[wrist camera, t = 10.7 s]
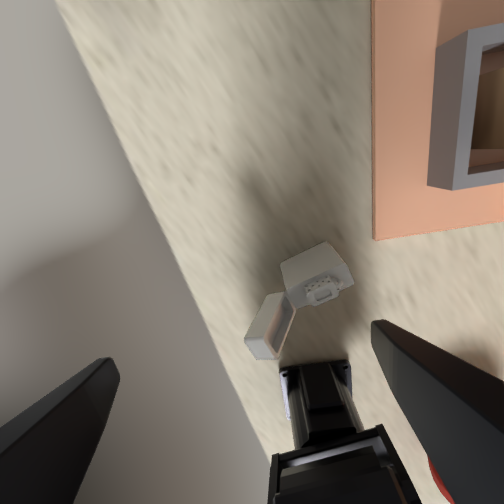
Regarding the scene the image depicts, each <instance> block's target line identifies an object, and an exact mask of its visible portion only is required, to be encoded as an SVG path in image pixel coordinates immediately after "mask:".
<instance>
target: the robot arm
mask: <svg viewBox="0 0 504 504" xmlns="http://www.w3.org/2000/svg"><path fill="white" fill-rule="evenodd" d="M371 344H372V348H373V350H374V352H375V355H376V357H377V359H378V361H379V364H380V366H381V368H382V371H383V373H384V375H385V378H386V380H387V382H388V384H389V387H390V389H391V391H392V393H393V395H394V397H395V399H396V400H397V402H398V404H399V406H400V408H401V409H402V411H403V413H404V415H405V416H406V418H407V420H408V422H409V423H410V425H411V427H412V429H413V430H414V432H415V434H416V436H417V438H418V439H419V441H420V443H421V445H422V446H423V448H424V450H425V452H426V453H427V455H428V457H429V459H430V460H431V462H432V464H433V466H434V467H435V469H436V471H437V473H438V475H439V476H440V478H441V480H442V482H443V483H444V485H445V487H446V489H447V490H448V492H449V494H450V496H451V497H452V499H453V501H454V503H455V504H504V381H503V380H501V379H499V378H497V377H495V376H493V375H491V374H489V373H487V372H485V371H483V370H481V369H479V368H477V367H476V366H474V365H472V364H470V363H468V362H466V361H464V360H462V359H460V358H458V357H456V356H454V355H452V354H451V353H449V352H447V351H445V350H443V349H441V348H439V347H437V346H435V345H433V344H431V343H429V342H427V341H425V340H424V339H422V338H420V337H418V336H416V335H414V334H412V333H410V332H408V331H406V330H404V329H402V328H400V327H398V326H397V325H395V324H393V323H391V322H389V321H387V320H384V319H382V320H375V321H372V322H371ZM344 365H346V366H344ZM283 373H286V374H283ZM279 375H280V381H281V387H282V393H283V398H284V404H285V410H286V416H287V419H288V420H290V421H291V425H292V432H293V439H294V446H295V450H293V451H289V452H286V453H282V454H279V453H277V454H273V455H272V462H271V467H270V478H269V491H268V503H267V504H422V503H421V500H420V498H419V496H418V494H417V492H416V490H415V488H414V485H413V483H412V481H411V479H410V477H409V475H408V473H407V471H406V469H405V467H404V465H403V463H402V461H401V459H400V457H399V456H398V454H397V452H396V450H395V448H394V446H393V444H392V442H391V440H390V438H389V436H388V434H387V432H386V430H385V428H384V426H383V424H379V425H376V426H375V427H374V428H371V429H367V430H365V429H364V427H363V424H362V422H361V419H360V417H359V414H358V412H357V410H356V407H355V405H354V402H353V400H352V380H351V365H350V363H349V361H347V360H339V361H331V362H323V363H316V364H308V365H300V366H292V367H284V368H281V369H280V371H279ZM119 382H120V374H119V372H118V369H117V367H116V365H115V363H114V360H113V359H112V358H111V357H105V358H99V359H97V360H96V361H94V362H93V363H91V364H90V365H88V366H87V367H86V368H84V369H83V370H81V371H80V372H78V373H77V374H76V375H74V376H73V377H71V378H70V379H69V380H67V381H66V382H65V383H63V384H61V385H60V386H59V387H57V388H56V389H54V390H53V391H51V392H50V393H49V394H47V395H46V396H44V397H43V398H42V399H40V400H39V401H38V402H36V403H34V404H33V405H32V406H30V407H29V408H27V409H26V410H24V411H23V412H22V413H20V414H19V415H17V416H16V417H14V418H13V419H12V420H10V421H9V422H7V423H6V424H4V425H3V426H2V427H0V504H73V503H74V501H75V499H76V496H77V494H78V491H79V489H80V487H81V484H82V482H83V479H84V477H85V475H86V472H87V470H88V467H89V465H90V463H91V460H92V458H93V455H94V453H95V451H96V448H97V445H98V443H99V441H100V439H101V436H102V434H103V431H104V429H105V426H106V423H107V420H108V417H109V414H110V411H111V408H112V405H113V401H114V398H115V395H116V392H117V389H118V386H119Z"/></svg>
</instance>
